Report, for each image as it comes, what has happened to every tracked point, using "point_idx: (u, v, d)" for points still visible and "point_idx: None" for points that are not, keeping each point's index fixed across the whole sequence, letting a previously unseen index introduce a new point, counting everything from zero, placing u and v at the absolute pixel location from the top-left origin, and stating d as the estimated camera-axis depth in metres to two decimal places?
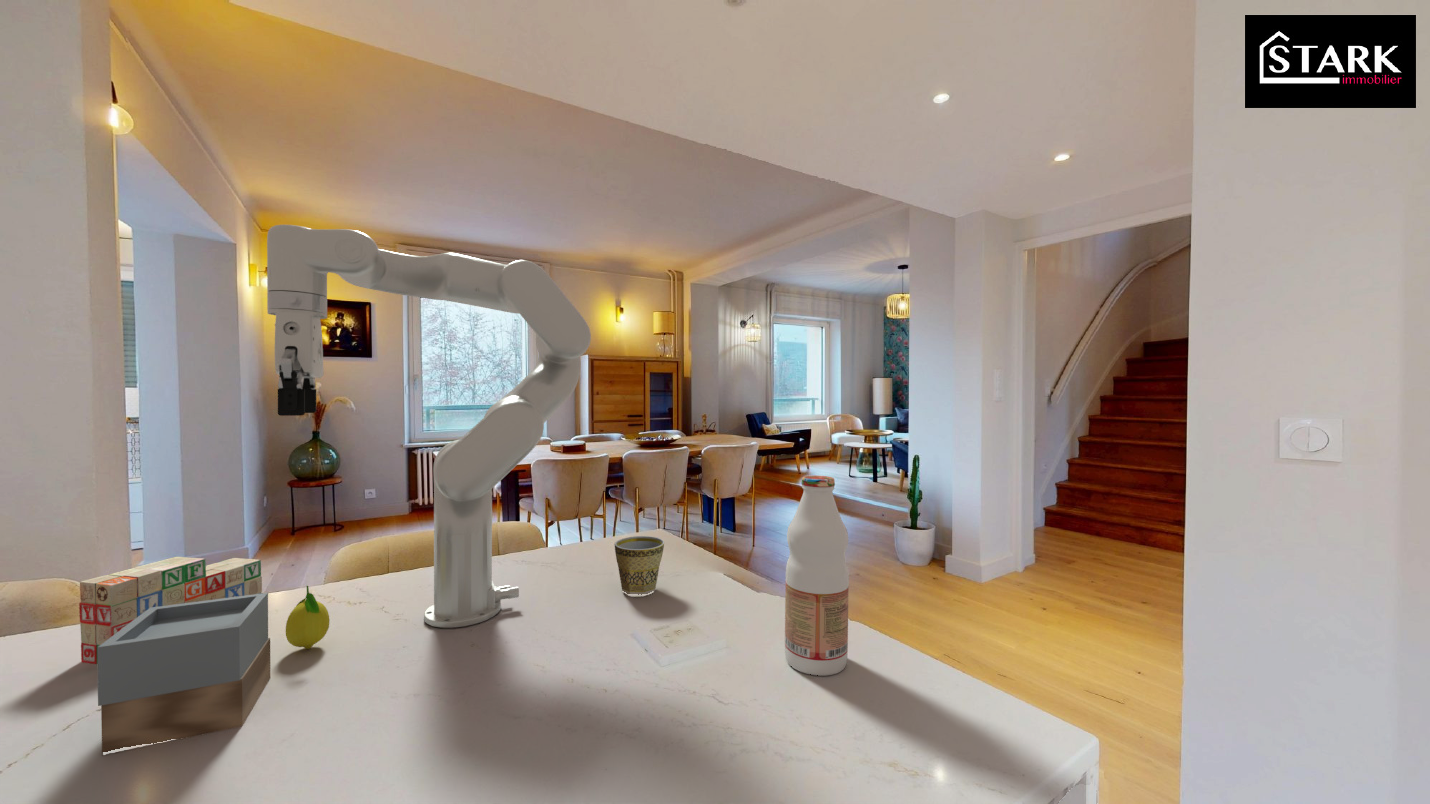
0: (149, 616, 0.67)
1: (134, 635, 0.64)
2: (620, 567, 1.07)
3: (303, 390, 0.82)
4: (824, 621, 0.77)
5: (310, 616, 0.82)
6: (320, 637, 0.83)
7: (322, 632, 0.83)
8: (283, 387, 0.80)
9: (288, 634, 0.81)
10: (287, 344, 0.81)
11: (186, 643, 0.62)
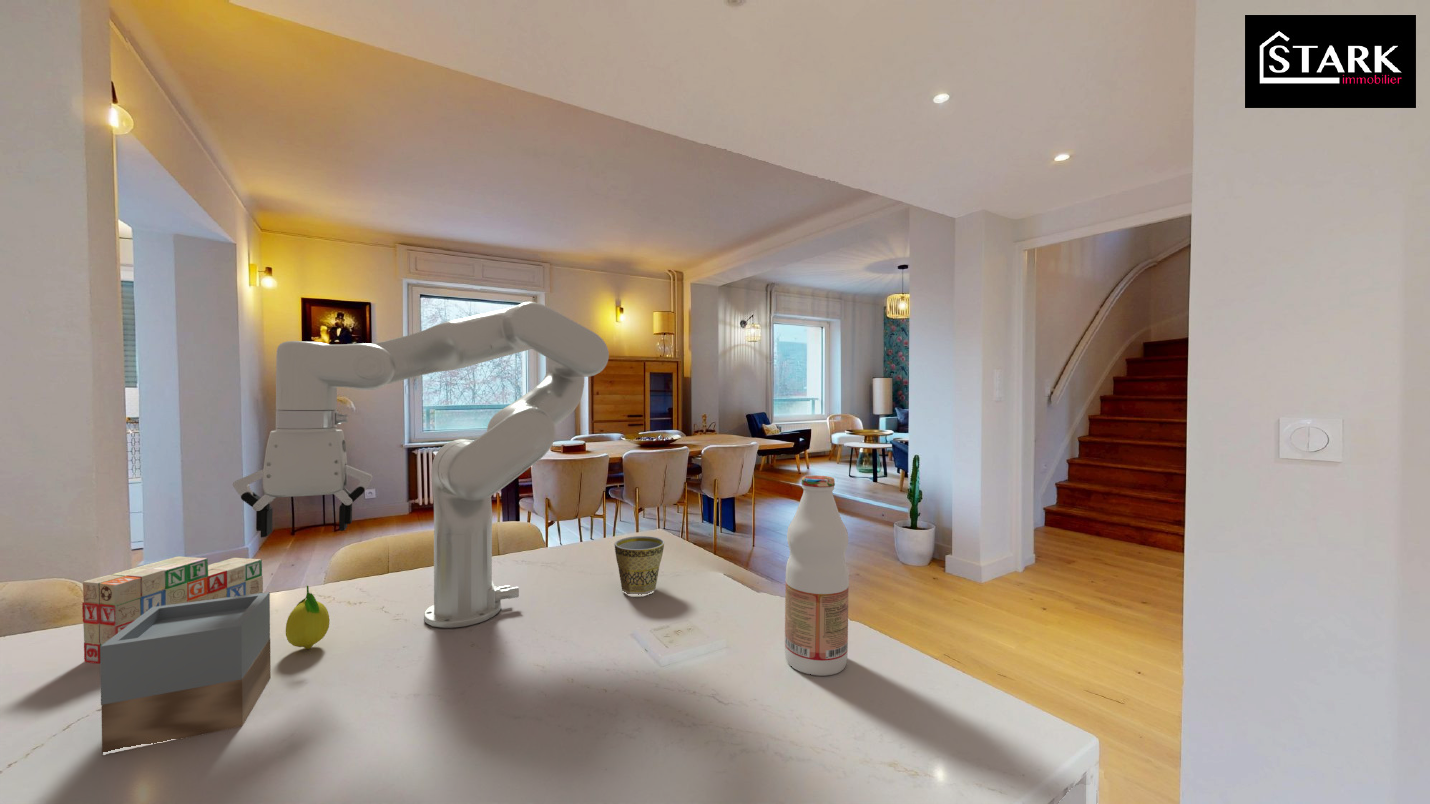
0: (151, 615, 0.67)
1: (136, 634, 0.64)
2: (620, 567, 1.07)
3: None
4: (824, 621, 0.77)
5: (310, 616, 0.82)
6: (320, 637, 0.83)
7: (322, 632, 0.83)
8: (352, 502, 0.85)
9: (288, 634, 0.81)
10: (345, 462, 0.85)
11: (188, 642, 0.62)
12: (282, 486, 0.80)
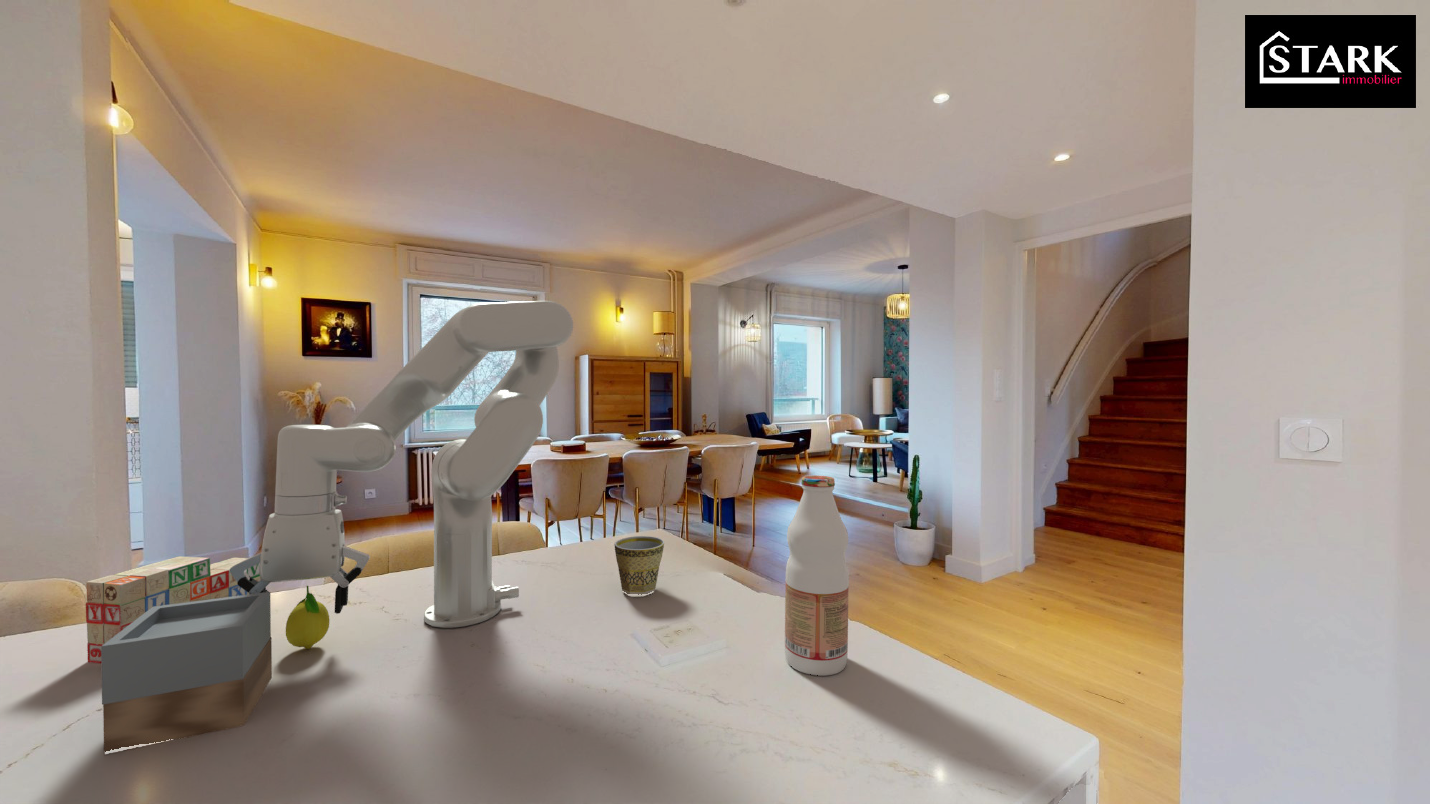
0: (152, 615, 0.67)
1: (137, 634, 0.64)
2: (620, 567, 1.07)
3: None
4: (824, 621, 0.77)
5: (310, 616, 0.82)
6: (320, 637, 0.83)
7: (322, 631, 0.83)
8: (348, 584, 0.85)
9: (288, 634, 0.81)
10: (342, 543, 0.85)
11: (189, 642, 0.62)
12: (279, 571, 0.80)
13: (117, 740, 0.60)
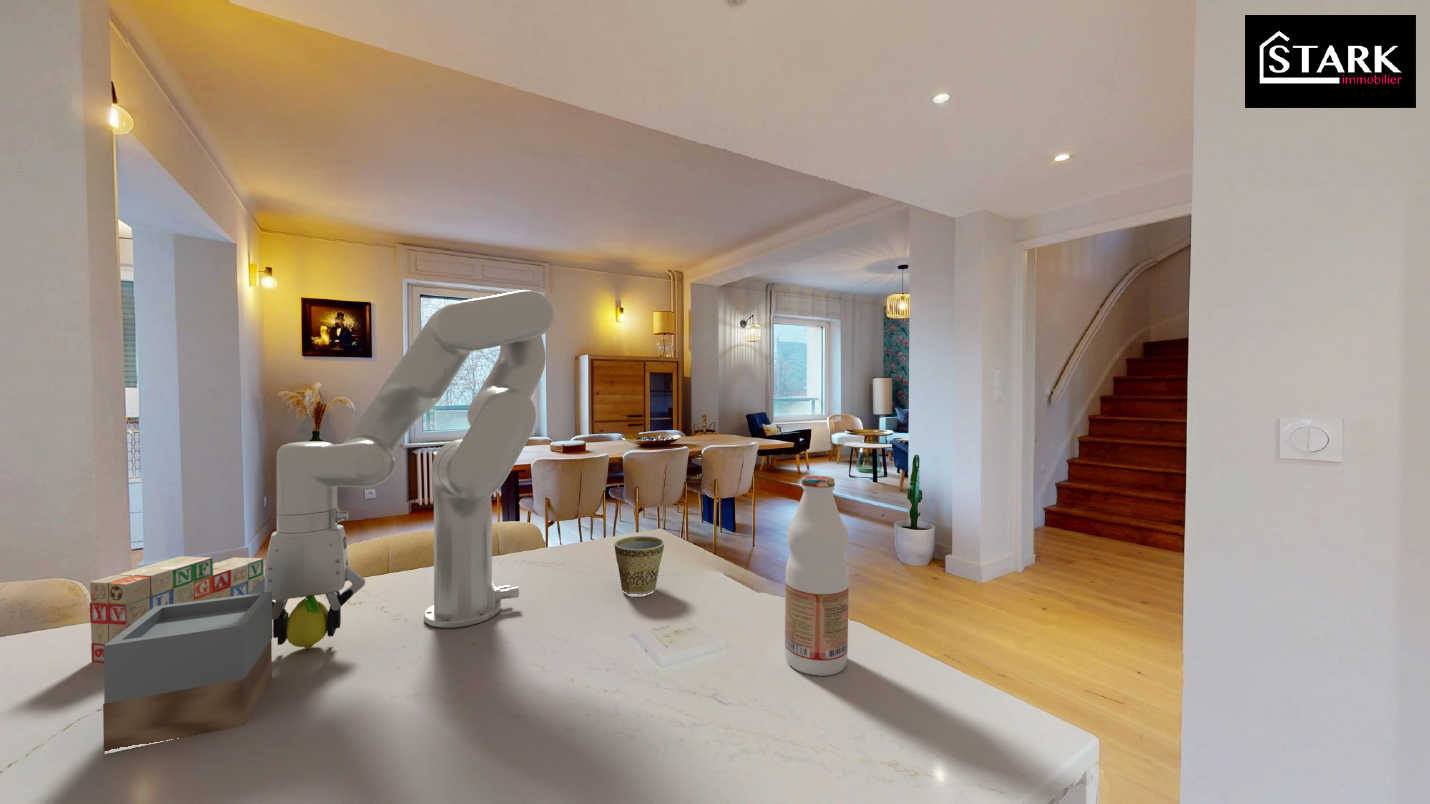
0: (154, 615, 0.68)
1: (139, 633, 0.64)
2: (620, 567, 1.07)
3: None
4: (824, 621, 0.77)
5: (310, 616, 0.82)
6: (320, 637, 0.83)
7: (322, 631, 0.83)
8: (340, 607, 0.85)
9: (288, 634, 0.81)
10: (346, 559, 0.85)
11: (191, 642, 0.62)
12: (284, 589, 0.80)
13: (117, 740, 0.60)
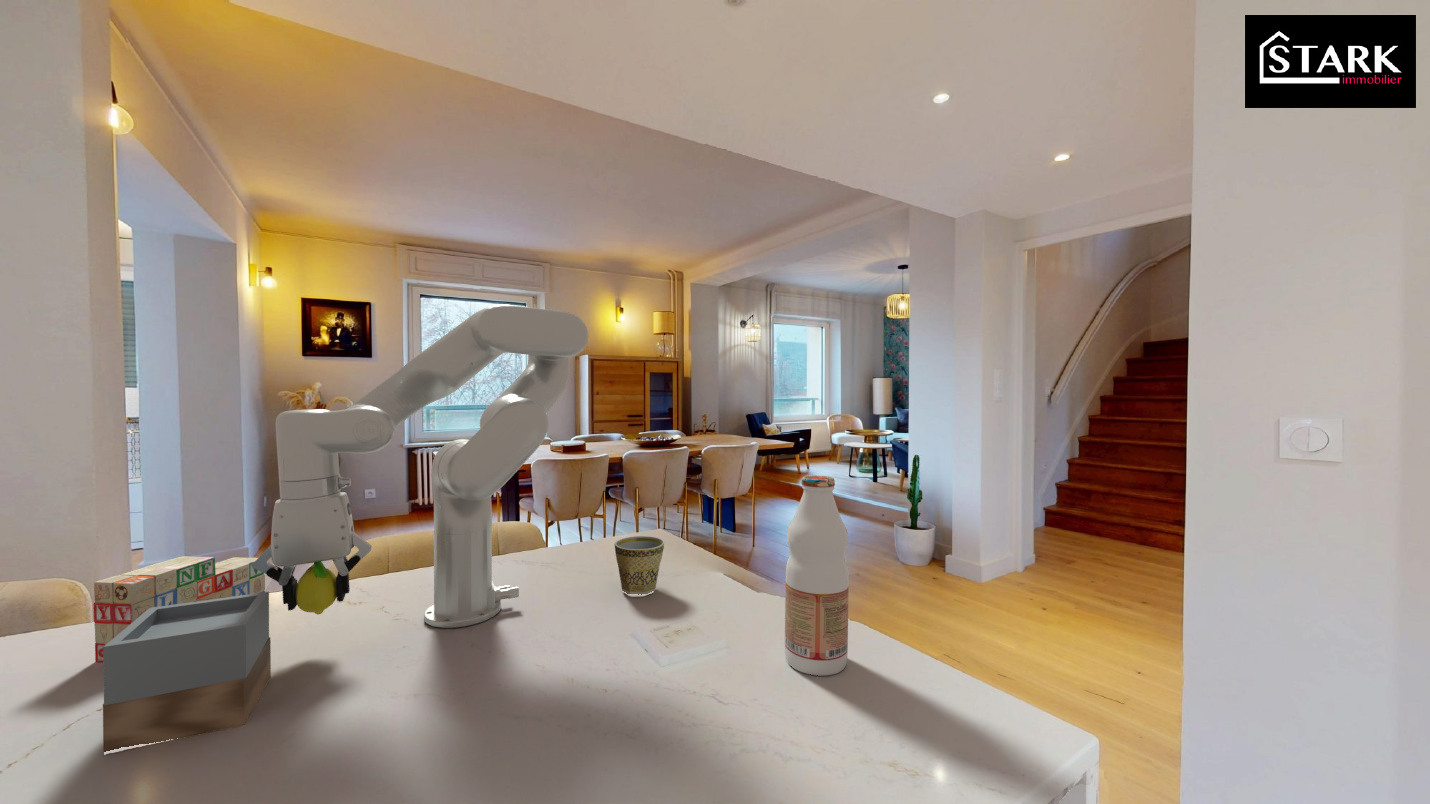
0: (150, 616, 0.67)
1: (137, 635, 0.64)
2: (620, 567, 1.07)
3: None
4: (824, 621, 0.77)
5: (319, 581, 0.83)
6: (330, 602, 0.84)
7: (332, 597, 0.84)
8: (348, 572, 0.85)
9: (298, 600, 0.82)
10: (351, 525, 0.86)
11: (193, 642, 0.62)
12: (291, 555, 0.81)
13: (117, 740, 0.60)
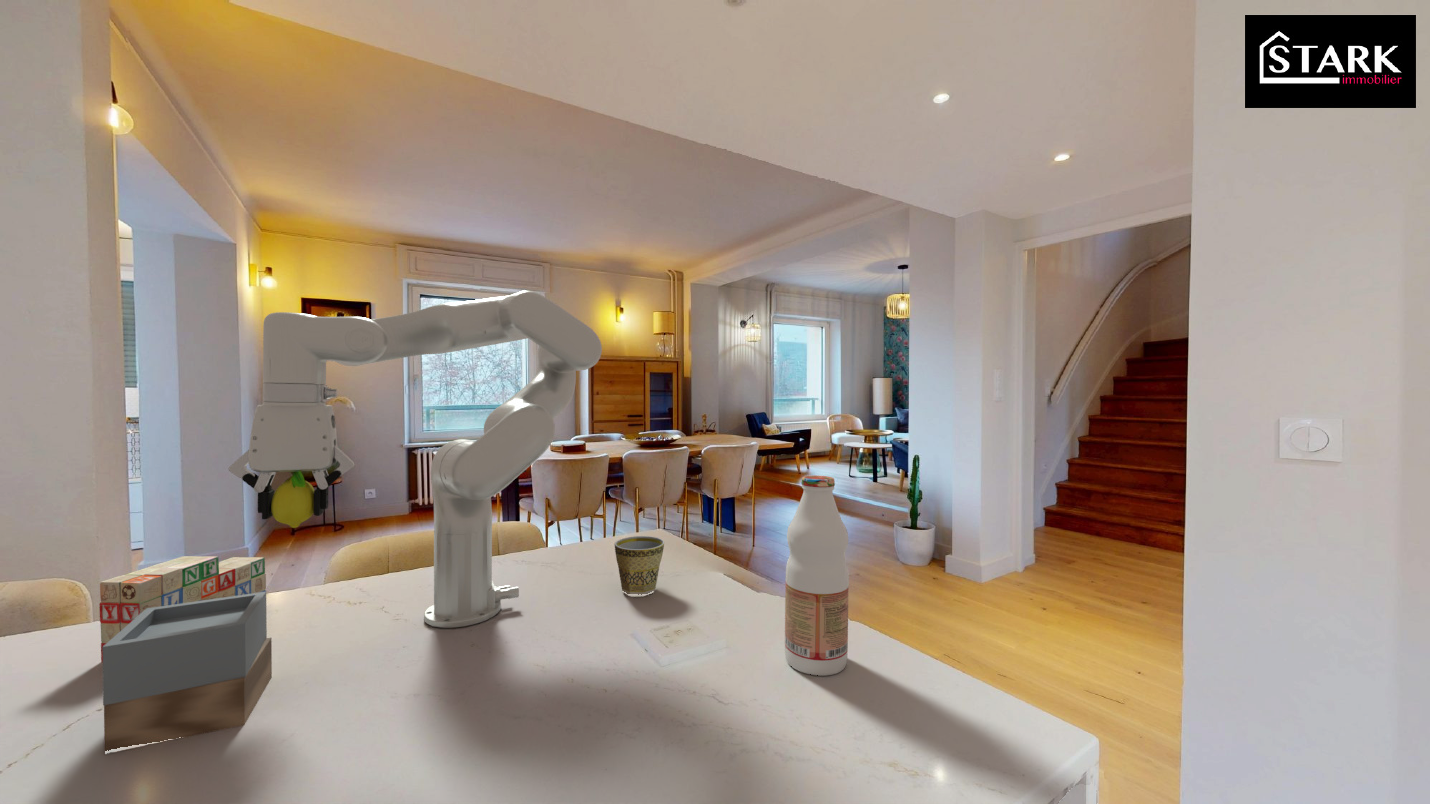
0: (148, 616, 0.67)
1: (135, 635, 0.64)
2: (620, 567, 1.07)
3: None
4: (824, 621, 0.77)
5: (296, 491, 0.80)
6: (306, 515, 0.81)
7: (309, 510, 0.81)
8: (327, 487, 0.82)
9: (273, 509, 0.79)
10: (334, 438, 0.83)
11: (192, 641, 0.63)
12: (269, 461, 0.78)
13: (118, 740, 0.60)
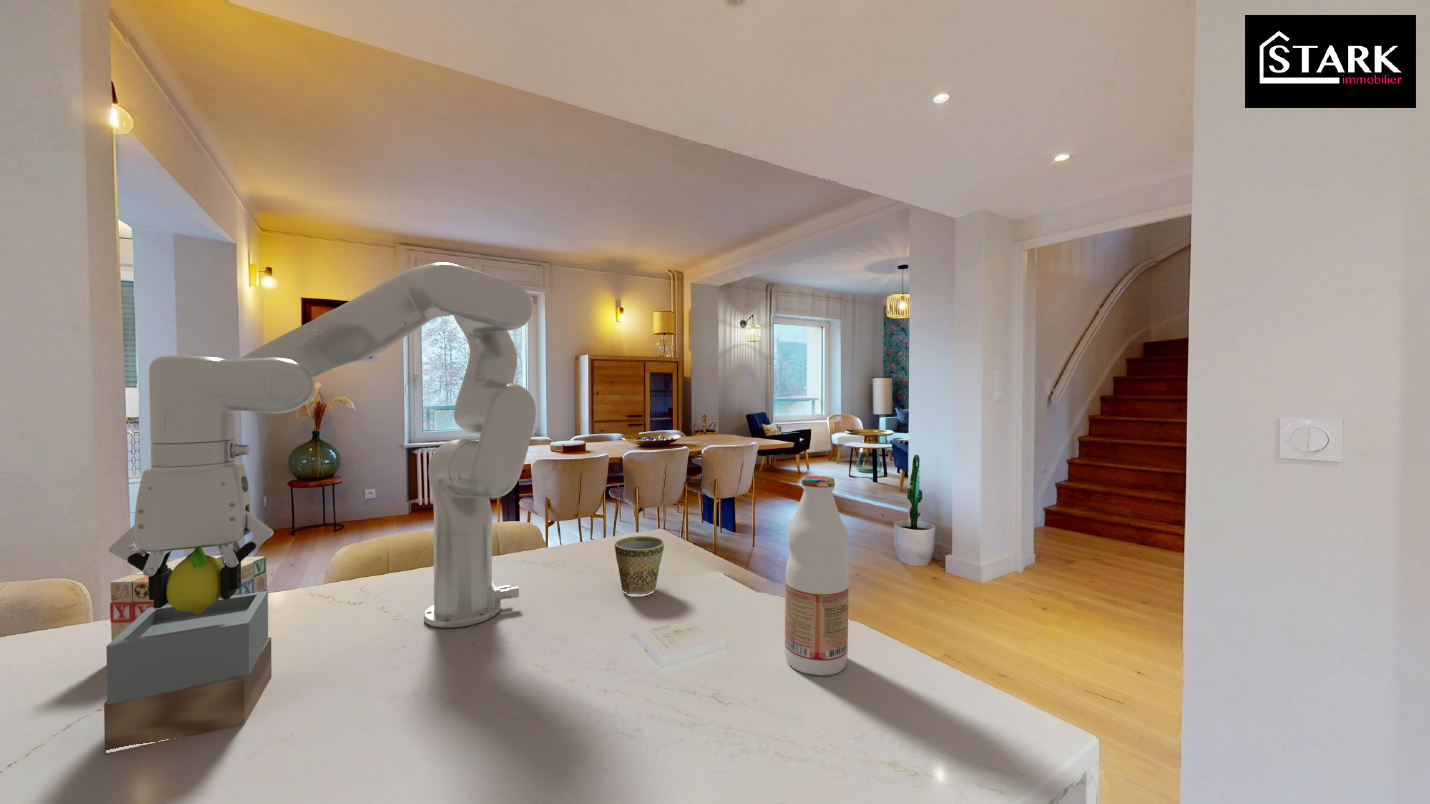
0: (150, 616, 0.67)
1: (138, 634, 0.64)
2: (620, 567, 1.07)
3: None
4: (824, 621, 0.77)
5: (197, 572, 0.66)
6: (212, 599, 0.67)
7: (214, 592, 0.67)
8: (238, 563, 0.68)
9: (168, 595, 0.65)
10: (245, 503, 0.69)
11: (196, 640, 0.63)
12: (160, 538, 0.64)
13: (118, 740, 0.60)
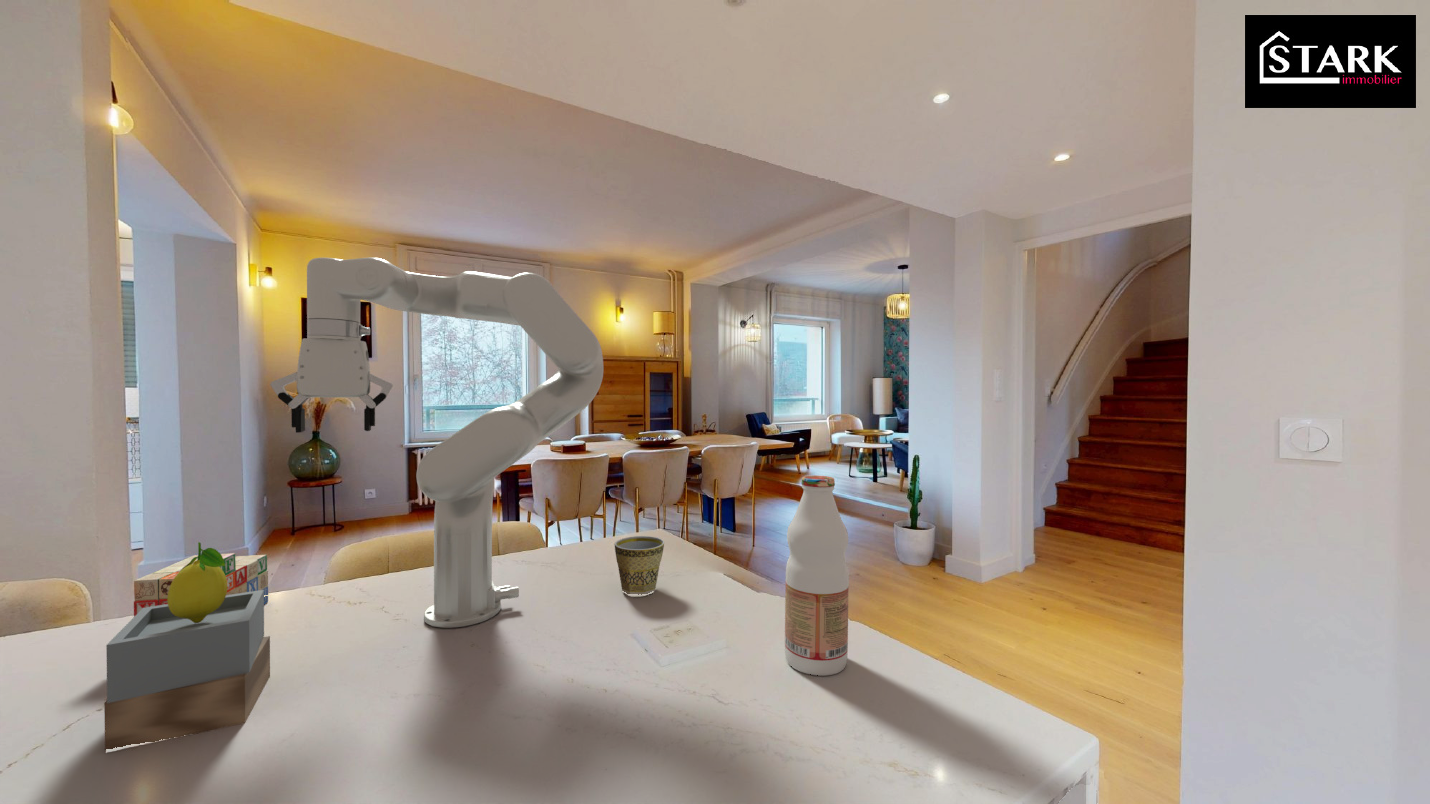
0: (146, 615, 0.67)
1: (135, 633, 0.64)
2: (620, 567, 1.07)
3: None
4: (824, 621, 0.77)
5: (208, 574, 0.68)
6: (218, 603, 0.68)
7: (222, 596, 0.68)
8: (375, 406, 0.95)
9: (176, 599, 0.65)
10: (368, 370, 0.95)
11: (196, 638, 0.63)
12: (314, 387, 0.90)
13: (118, 738, 0.60)
